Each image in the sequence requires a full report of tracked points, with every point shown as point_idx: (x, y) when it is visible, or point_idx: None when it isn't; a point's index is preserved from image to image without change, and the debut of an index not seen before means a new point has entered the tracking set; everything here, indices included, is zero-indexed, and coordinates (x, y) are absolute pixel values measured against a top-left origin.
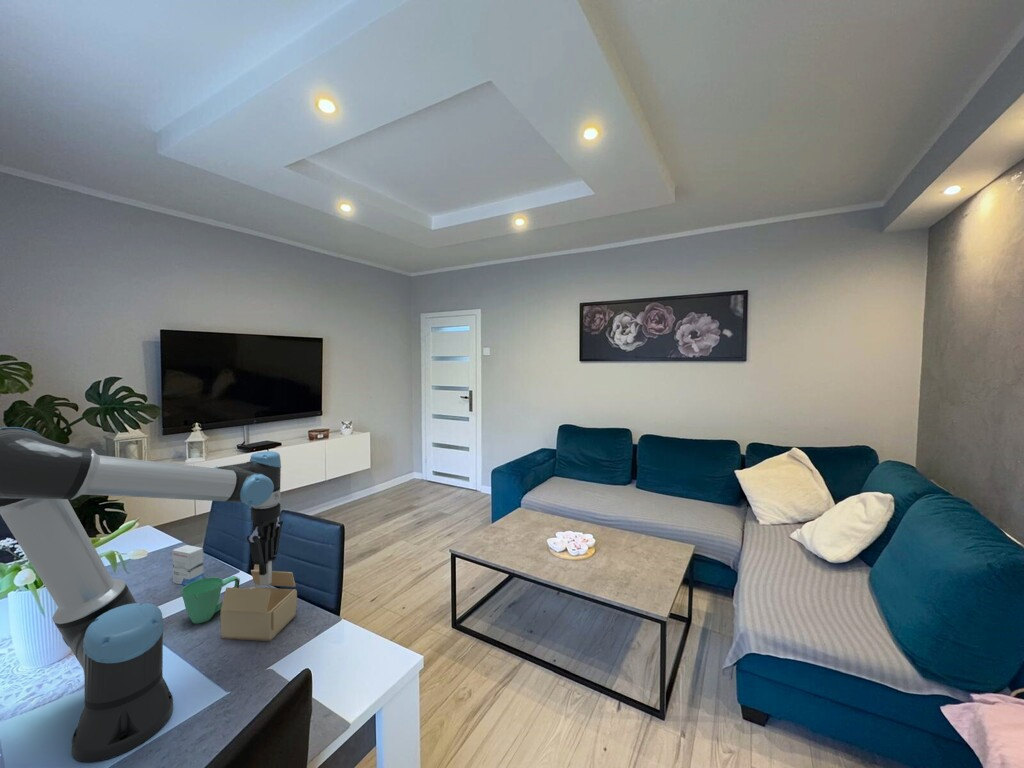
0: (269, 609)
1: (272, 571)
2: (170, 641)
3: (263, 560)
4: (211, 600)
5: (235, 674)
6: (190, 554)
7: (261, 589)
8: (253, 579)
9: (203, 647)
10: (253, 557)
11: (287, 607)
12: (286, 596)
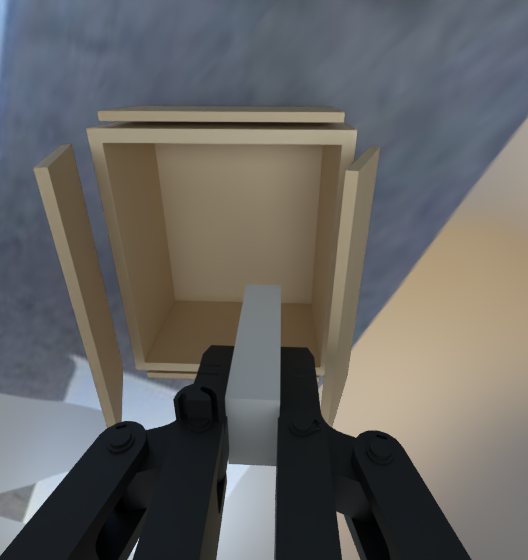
0: (319, 218)
1: (333, 346)
2: None
3: (144, 518)
4: None
5: (23, 294)
6: None
7: (103, 403)
8: (363, 154)
9: (80, 82)
10: (34, 534)
11: None
12: None
